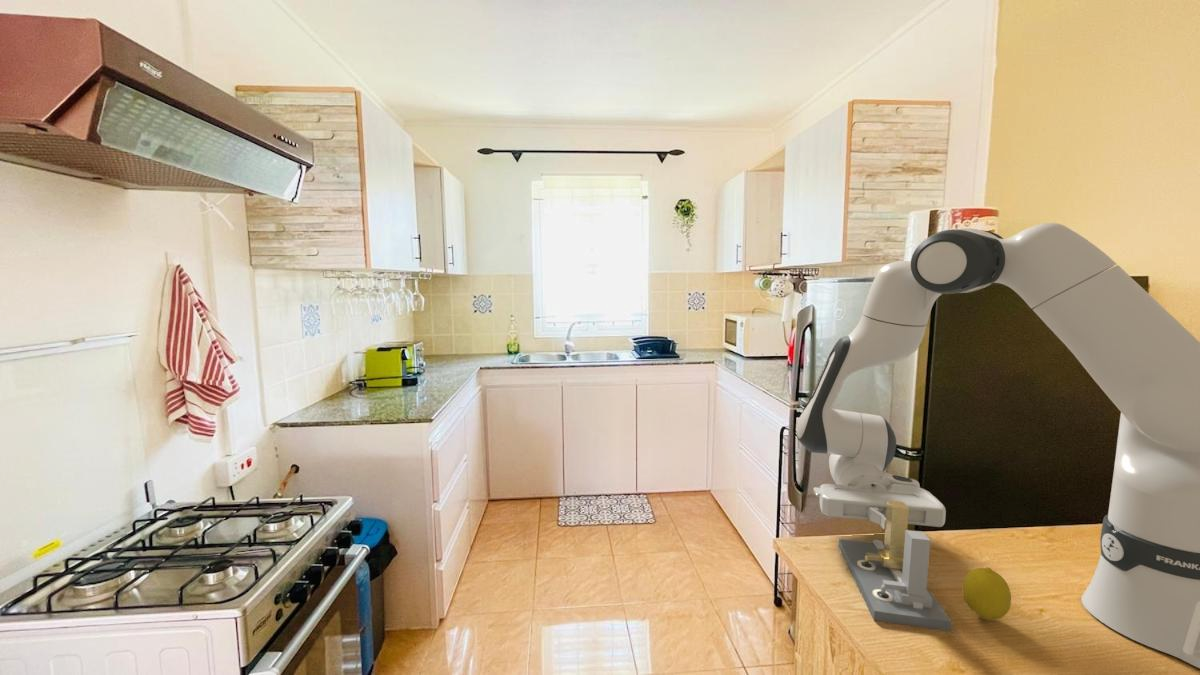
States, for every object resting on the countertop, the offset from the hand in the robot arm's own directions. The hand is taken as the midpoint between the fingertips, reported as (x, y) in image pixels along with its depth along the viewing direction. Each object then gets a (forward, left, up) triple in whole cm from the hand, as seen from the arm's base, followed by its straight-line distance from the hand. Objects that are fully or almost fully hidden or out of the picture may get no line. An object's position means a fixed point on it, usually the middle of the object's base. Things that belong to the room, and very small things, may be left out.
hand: (893, 526), depth 80 cm
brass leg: (+1, +1, -6) cm, 7 cm away
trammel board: (+2, +3, -8) cm, 9 cm away
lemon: (-9, +9, -9) cm, 16 cm away
